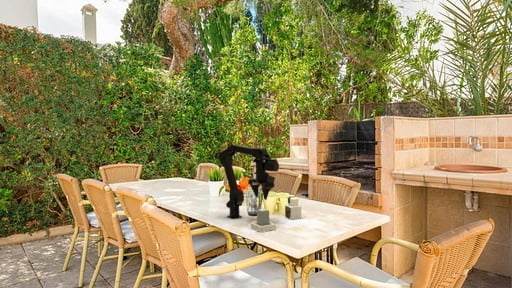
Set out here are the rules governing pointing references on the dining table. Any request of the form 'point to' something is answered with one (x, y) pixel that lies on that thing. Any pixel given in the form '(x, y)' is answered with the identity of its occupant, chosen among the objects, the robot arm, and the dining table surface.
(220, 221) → the dining table surface
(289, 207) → the yellow black printed box
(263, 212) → the grey tall block
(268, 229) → the tray
